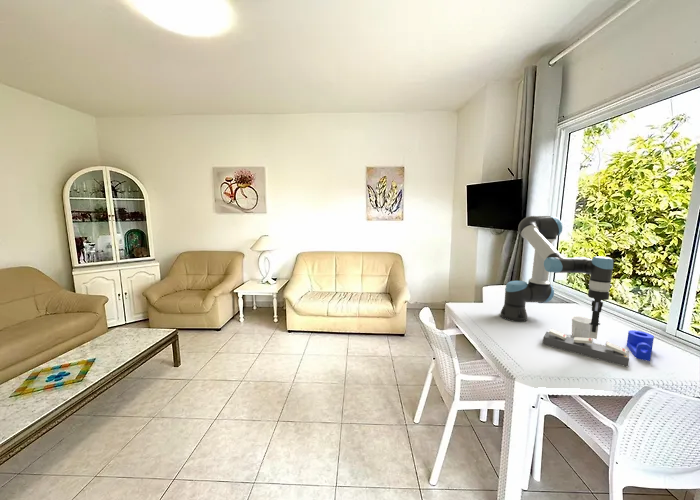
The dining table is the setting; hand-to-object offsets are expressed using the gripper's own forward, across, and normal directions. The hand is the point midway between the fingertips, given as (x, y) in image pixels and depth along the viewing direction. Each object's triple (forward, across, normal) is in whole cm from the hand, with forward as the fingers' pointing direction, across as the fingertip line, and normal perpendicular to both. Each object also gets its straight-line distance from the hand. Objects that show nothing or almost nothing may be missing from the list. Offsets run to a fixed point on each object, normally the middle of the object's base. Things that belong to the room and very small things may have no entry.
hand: (592, 337), depth 140 cm
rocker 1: (+3, 0, +14) cm, 14 cm away
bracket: (+9, +19, -18) cm, 27 cm away
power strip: (+8, 0, +3) cm, 9 cm away
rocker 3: (+3, 0, -8) cm, 9 cm away
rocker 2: (+3, 0, +3) cm, 4 cm away
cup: (+8, +20, +5) cm, 22 cm away
